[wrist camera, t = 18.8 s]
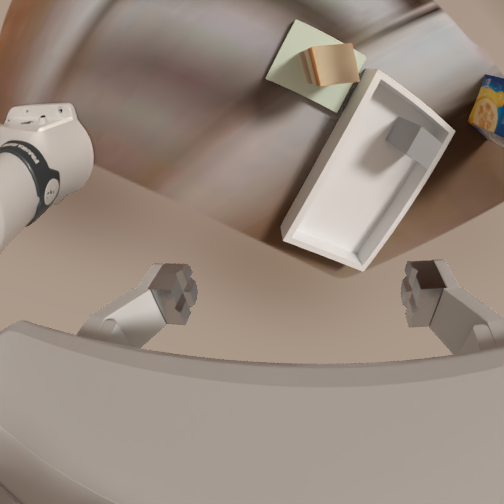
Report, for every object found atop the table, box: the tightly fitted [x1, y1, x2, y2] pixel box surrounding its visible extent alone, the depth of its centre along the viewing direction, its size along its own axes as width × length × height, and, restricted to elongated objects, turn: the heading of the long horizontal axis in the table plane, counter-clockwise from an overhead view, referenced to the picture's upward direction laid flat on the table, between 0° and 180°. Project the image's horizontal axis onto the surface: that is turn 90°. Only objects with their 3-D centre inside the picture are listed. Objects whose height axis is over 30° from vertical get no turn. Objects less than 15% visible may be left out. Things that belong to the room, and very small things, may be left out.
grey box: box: [385, 117, 442, 170], centre depth 35 cm, size 4×4×7 cm
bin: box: [280, 69, 455, 272], centre depth 40 cm, size 16×29×4 cm, turn 157°
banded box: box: [299, 43, 360, 86], centre depth 28 cm, size 5×5×9 cm
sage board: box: [265, 20, 366, 113], centre depth 33 cm, size 11×10×1 cm
